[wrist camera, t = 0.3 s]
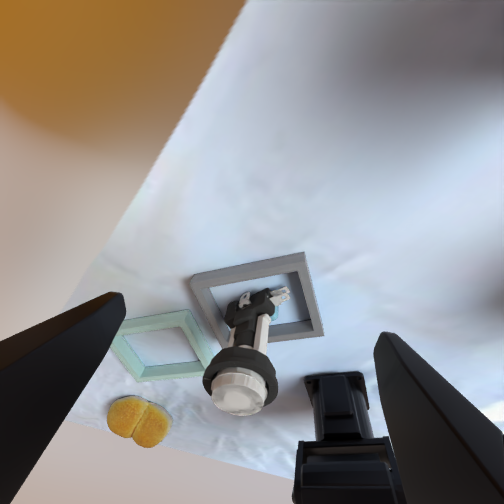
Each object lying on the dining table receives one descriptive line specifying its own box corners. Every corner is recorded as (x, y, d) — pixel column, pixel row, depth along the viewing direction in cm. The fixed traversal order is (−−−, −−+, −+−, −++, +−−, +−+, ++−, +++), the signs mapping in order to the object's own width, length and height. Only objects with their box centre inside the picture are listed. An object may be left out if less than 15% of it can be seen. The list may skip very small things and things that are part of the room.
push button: (272, 265, 24) (263, 358, 15) (303, 304, 26) (310, 407, 17) (217, 295, 27) (182, 389, 18) (248, 329, 28) (230, 429, 20)
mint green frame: (218, 363, 32) (215, 375, 31) (142, 371, 35) (137, 382, 33) (189, 309, 28) (184, 319, 27) (106, 323, 31) (99, 333, 29)
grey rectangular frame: (322, 324, 27) (324, 336, 26) (225, 337, 29) (222, 348, 28) (304, 252, 23) (305, 260, 22) (194, 274, 26) (189, 283, 24)
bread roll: (121, 385, 37) (104, 414, 34) (180, 410, 38) (169, 440, 35) (109, 412, 41) (92, 440, 38) (162, 433, 42) (151, 462, 39)
